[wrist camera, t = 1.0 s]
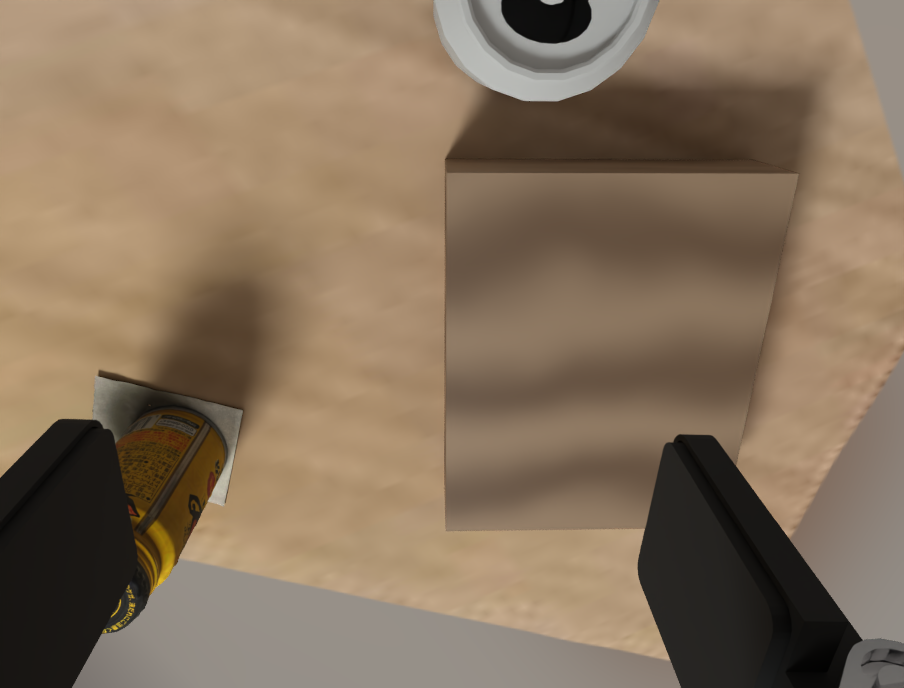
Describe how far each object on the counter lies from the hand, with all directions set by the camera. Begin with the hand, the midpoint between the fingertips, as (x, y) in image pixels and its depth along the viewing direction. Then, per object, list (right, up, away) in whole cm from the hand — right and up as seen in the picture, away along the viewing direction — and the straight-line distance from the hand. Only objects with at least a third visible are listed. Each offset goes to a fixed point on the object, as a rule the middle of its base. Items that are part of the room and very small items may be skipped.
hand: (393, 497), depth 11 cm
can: (+4, +19, +19) cm, 27 cm away
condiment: (-17, -3, +28) cm, 33 cm away
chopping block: (+9, +3, +27) cm, 28 cm away
